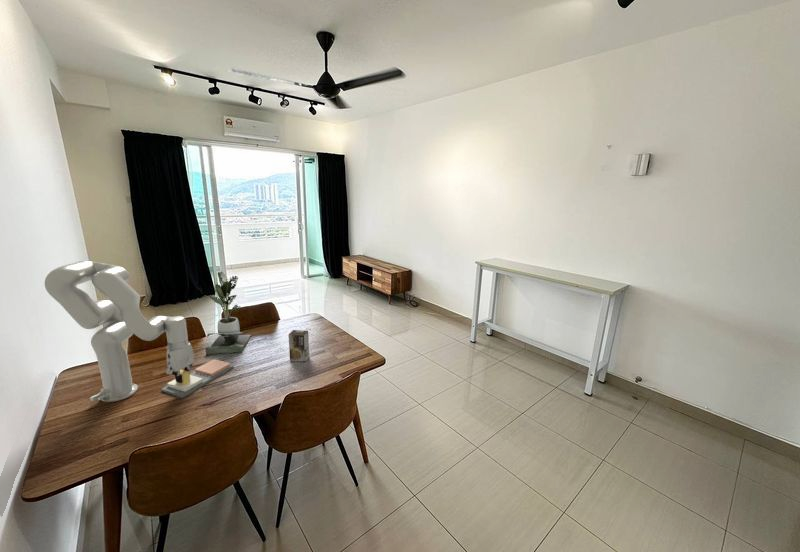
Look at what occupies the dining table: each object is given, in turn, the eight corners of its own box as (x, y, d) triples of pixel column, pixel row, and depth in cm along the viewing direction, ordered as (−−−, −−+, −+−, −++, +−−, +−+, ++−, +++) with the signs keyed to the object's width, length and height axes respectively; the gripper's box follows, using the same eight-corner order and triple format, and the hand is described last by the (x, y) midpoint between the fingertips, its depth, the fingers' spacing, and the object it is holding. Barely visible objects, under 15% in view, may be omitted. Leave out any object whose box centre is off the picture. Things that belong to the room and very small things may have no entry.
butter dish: (185, 391, 141) (183, 378, 140) (167, 386, 144) (165, 373, 143) (203, 381, 149) (201, 369, 148) (186, 376, 153) (184, 364, 151)
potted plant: (242, 352, 181) (236, 276, 170) (206, 354, 177) (197, 277, 166) (251, 336, 202) (246, 268, 191) (218, 337, 198) (211, 268, 187)
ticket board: (182, 397, 139) (181, 392, 138) (161, 391, 143) (160, 385, 142) (233, 367, 165) (233, 362, 164) (214, 362, 169) (214, 357, 168)
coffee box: (309, 357, 179) (308, 330, 175) (305, 362, 173) (304, 335, 169) (294, 355, 180) (293, 329, 176) (289, 361, 174) (288, 334, 170)
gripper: (166, 353, 133) (171, 391, 137) (201, 338, 148) (205, 373, 152) (153, 350, 135) (159, 388, 139) (189, 335, 150) (193, 369, 154)
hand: (183, 379), depth 146 cm, fingers closed on butter dish, 3 cm apart
